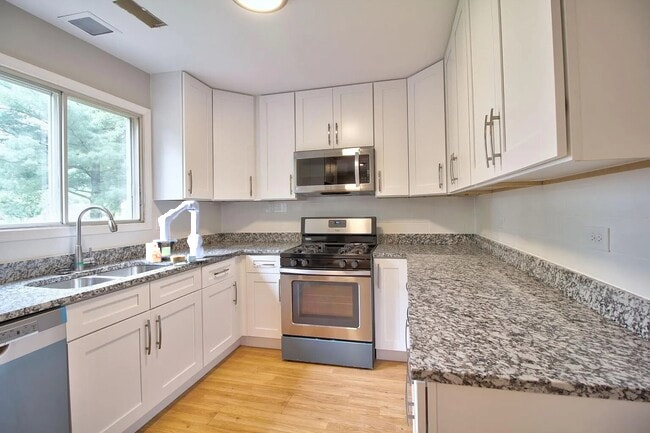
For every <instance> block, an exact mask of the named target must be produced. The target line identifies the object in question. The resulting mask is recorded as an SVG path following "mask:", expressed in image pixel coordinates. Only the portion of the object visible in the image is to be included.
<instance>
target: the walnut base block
mask: <svg viewBox="0 0 650 433" xmlns="http://www.w3.org/2000/svg"><path fill="white" fill-rule="evenodd" d="M182 261H184V262H186V256H185V255H183V254H180V255H179V254H178V255H170V262H171V263H172V264H173V263H182Z"/></svg>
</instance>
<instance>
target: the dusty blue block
mask: <svg viewBox="0 0 650 433" xmlns="http://www.w3.org/2000/svg"><path fill="white" fill-rule="evenodd" d="M186 258H187V259H186V262H187V261H188V262H192V263H197V258H196V255H195V254H193V255H190V254H187V256H186Z"/></svg>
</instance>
